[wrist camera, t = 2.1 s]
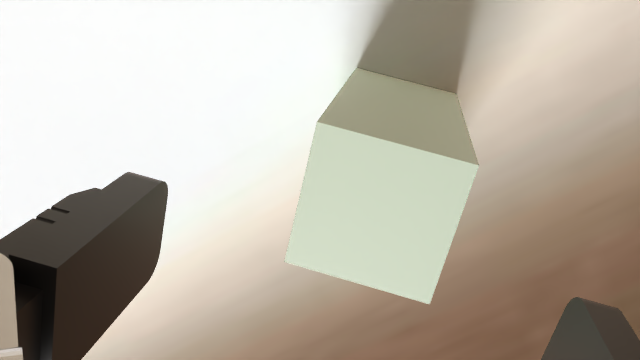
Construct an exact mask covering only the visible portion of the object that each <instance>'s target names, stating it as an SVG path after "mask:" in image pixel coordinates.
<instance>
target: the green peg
mask: <svg viewBox="0 0 640 360" xmlns="http://www.w3.org/2000/svg"><path fill="white" fill-rule="evenodd" d="M478 167H479V164H478V161H477V158H476V154H475V151H474V148H473V145H472V142H471V139H470V136H469V132H468V129H467V126H466V123H465V120H464V117H463V114H462V111H461V107H460V104H459V101H458V98H457V95H456V94H455V93H451V92H448V91H444V90H440V89H436V88H432V87H428V86H425V85H421V84H417V83H413V82H409V81H405V80H401V79H398V78H394V77H390V76H386V75H382V74H378V73H374V72H371V71H367V70H363V69H359V68H356V69H355V71H354V72H353V73H352V75H351V76H350V77H349V79H348V80H347V81H346V83H345V84H344V86H343V87H342V88H341V90H340V91H339V92H338V94H337V95H336V97H335V98H334V99H333V101H332V102H331V103H330V105H329V106H328V107H327V109H326V110H325V112H324V113H323V114H322V116H321V117H320V118H319V120H318V121H317V124H316V128H315V133H314V137H313V141H312V145H311V150H310V154H309V158H308V163H307V167H306V171H305V176H304V180H303V184H302V188H301V193H300V197H299V201H298V206H297V210H296V214H295V219H294V223H293V227H292V231H291V236H290V240H289V244H288V249H287V253H286V257H285V261H284V262H286V263H289V264H293V265H296V266H300V267H303V268H307V269H310V270H313V271H317V272H320V273H324V274H327V275H331V276H334V277H338V278H341V279H344V280H348V281H351V282H355V283H358V284H362V285H365V286H369V287H372V288H375V289H379V290H382V291H386V292H389V293H393V294H396V295H399V296H403V297H406V298H410V299H413V300H417V301H420V302H424V303H427V304H430V301H431V299H432V296H433V293H434V290H435V287H436V285H437V282H438V279H439V276H440V273H441V271H442V268H443V265H444V262H445V259H446V257H447V254H448V251H449V248H450V245H451V243H452V240H453V237H454V234H455V231H456V229H457V226H458V223H459V220H460V217H461V214H462V212H463V209H464V206H465V203H466V200H467V198H468V195H469V192H470V189H471V186H472V184H473V181H474V178H475V175H476V172H477V170H478Z"/></svg>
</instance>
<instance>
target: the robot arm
mask: <svg viewBox="0 0 640 360" xmlns="http://www.w3.org/2000/svg"><path fill="white" fill-rule="evenodd" d="M167 196H168V187H167V184H166V182H163V181H160V180H156V179H153V178H149V177H145V176H142V175H138V174H135V173H131V172H127V173H125V174H124V175H122V176H121V177H119V178H118V179H116V180H115V181H114V182H112V183H111V184H109V185H108V186H106V187H105V188H103V189H102V190H101V189H97V188H93V189H89V190H85V191H82V192H78V193H75V194H71V195H69V196H67V197H66V198H64V199H62V200H61V201H59V202H58V203H56V204H55V205H53V206H52V208H51V209H47V210H45V211H44V212H42V213H41V214H39V215H38V216H37V218H36V219H31V220H30V221H28V222H27V223H25V224H24V225H22V226H21V227H19V228H17V229H16V230H14V231H13V232H11V233H10V234H8V235H7V236H5V237H3V238H2V239H0V360H81V359H82V358H83V357H84V356H85V355H86V353H87V352H88V351H89V350H90V349H91V348H92V346H93V345H94V344H95V343H96V342H97V341H98V339H99V338H100V337H101V336H102V335H103V334H104V332H105V331H106V330H107V329H108V328H109V327H110V325H111V324H112V323H113V322H114V321H115V320H116V318H117V317H118V316H119V315H120V314H121V313H122V311H123V310H124V309H125V308H126V307H127V306H128V304H129V303H130V302H131V301H132V300H133V299H134V297H135V296H136V295H137V294H138V293H139V292H140V290H141V289H142V288H143V287H144V286H145V285H146V283H147V282H148V281H149V279H150V278H151V276H152V274H153V272H154V270H155V267H156V265H157V262H158V258H159V254H160V248H161V241H162V233H163V226H164V219H165V211H166V204H167ZM541 360H640V341H639V339H638V337H637V336H636V334H635V333H634V331H633V329H632V328H631V326H630V325H629V323H628V321H627V320H626V318H625V317H624V315H623V314H622V312H621V311H620V310H619V309H618V308H615V307H611V306H607V305H604V304H600V303H597V302H593V301H589V300H586V299H582V298H578V297H575V298H573V299H572V300H571V301H570V302H569V303H568V304H567V306H566V308H565V310H564V312H563V314H562V316H561V318H560V320H559V323H558V325H557V327H556V329H555V331H554V333H553V335H552V337H551V340H550V342H549V344H548V346H547V348H546V350H545V352H544V354H543V356H542V359H541Z"/></svg>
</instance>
